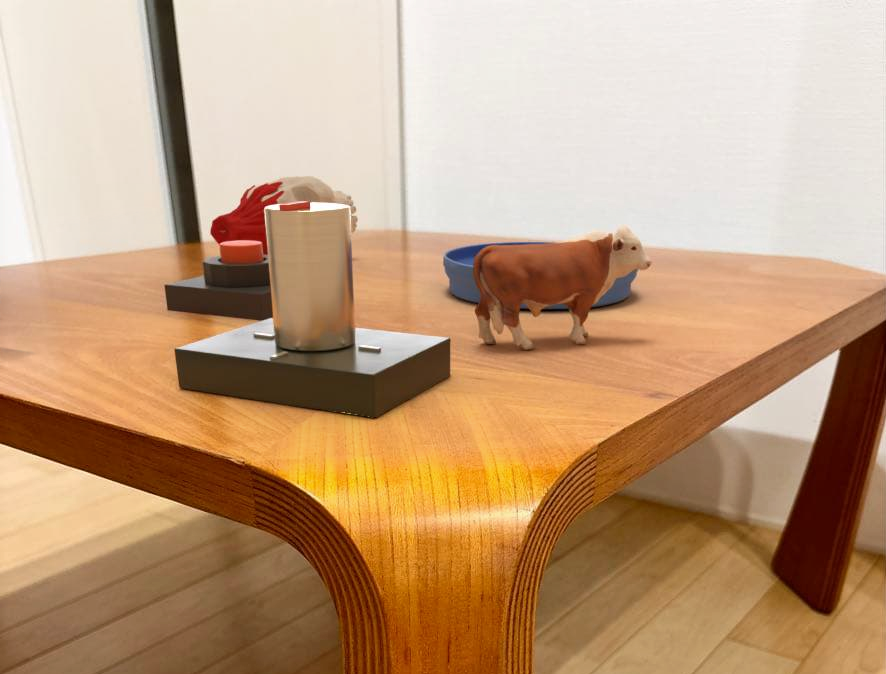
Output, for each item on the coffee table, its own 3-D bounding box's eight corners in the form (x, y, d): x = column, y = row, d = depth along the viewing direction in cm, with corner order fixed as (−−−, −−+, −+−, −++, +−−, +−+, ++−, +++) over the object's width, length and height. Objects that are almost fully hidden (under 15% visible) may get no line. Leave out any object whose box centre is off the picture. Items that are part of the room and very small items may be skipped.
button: (212, 265, 78) (210, 244, 77) (238, 259, 81) (236, 239, 80) (247, 268, 76) (245, 246, 76) (272, 262, 79) (270, 241, 79)
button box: (167, 310, 78) (161, 262, 77) (232, 293, 86) (228, 249, 84) (262, 321, 75) (258, 271, 73) (322, 302, 82) (319, 256, 80)
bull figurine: (651, 343, 68) (662, 228, 64) (478, 354, 65) (480, 234, 61) (625, 330, 71) (635, 221, 68) (460, 340, 68) (462, 226, 65)
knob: (304, 330, 60) (295, 196, 56) (370, 337, 58) (365, 199, 54) (258, 346, 56) (246, 202, 52) (328, 355, 54) (320, 206, 50)
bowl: (407, 288, 88) (406, 250, 87) (553, 272, 97) (555, 237, 96) (519, 321, 75) (520, 276, 73) (677, 299, 83) (681, 259, 82)
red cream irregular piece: (365, 254, 105) (247, 284, 98) (317, 242, 113) (205, 269, 106) (354, 171, 100) (229, 196, 93) (305, 165, 108) (187, 187, 101)
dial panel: (178, 388, 57) (173, 345, 56) (272, 353, 65) (269, 315, 64) (374, 418, 51) (373, 372, 50) (450, 376, 59) (450, 335, 58)
